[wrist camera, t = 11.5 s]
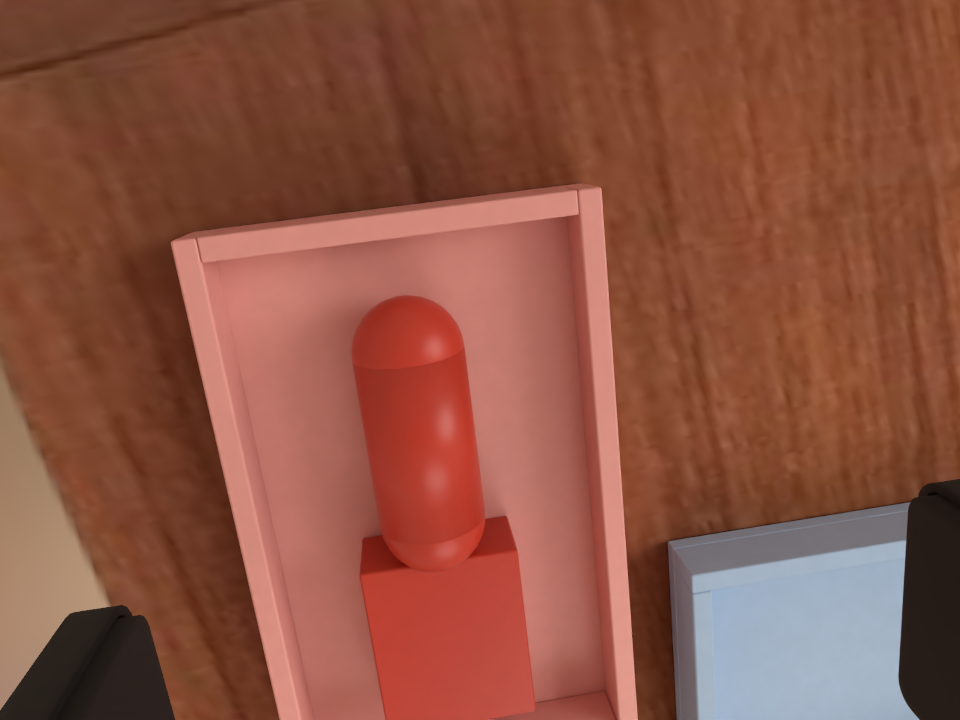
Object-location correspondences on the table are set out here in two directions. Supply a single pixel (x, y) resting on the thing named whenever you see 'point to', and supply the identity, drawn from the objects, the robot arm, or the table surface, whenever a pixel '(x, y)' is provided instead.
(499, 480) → the rose tray
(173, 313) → the table surface
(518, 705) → the red stamp
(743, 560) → the blue tray
